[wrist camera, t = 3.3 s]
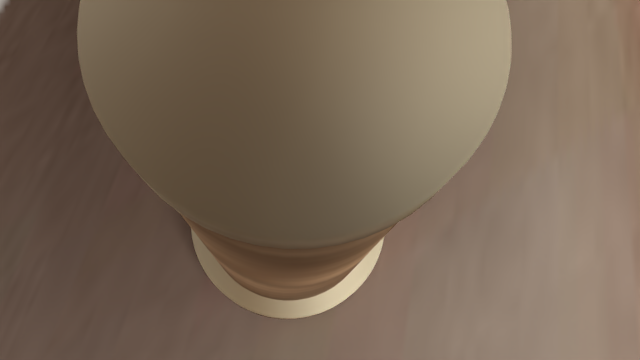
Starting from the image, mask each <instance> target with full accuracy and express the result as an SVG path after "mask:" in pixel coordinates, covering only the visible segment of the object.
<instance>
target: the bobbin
mask: <svg viewBox="0 0 640 360" xmlns="http://www.w3.org/2000/svg"><path fill="white" fill-rule="evenodd" d="M77 42H78V58H79V63H80V68H81V73H82V78H83V83H84V86H85V89H86V91H87V94H88V97H89V100H90V102H91V105H92V108H93V110H94V112H95V114H96V116H97V118H98V120H99V121H100V123H101V125H102V127H103V129H104V131H105V133H106V134H107V136H108V137H109V138H110V140H111V141H112V142H113V144H114V145H115V147H116V148H117V149H118V151H119V152H120V153H121V155H122V156H123V157H124V158H125V160H126V161H127V162H128V163H129V164H130V165H131V167H132V168H133V169H134V170H135V171H136V173H137V174H138V175H139V176H140V177H141V178H142V180H143V181H144V182H145V183H146V184H147V185H148V186H149V187H150V188H151V189H152V190H153V191H154V192H155V193H156V194H157V195H158V196H159V197H160V198H161V199H162V200H164V201H165V202H166V203H167V204H169V205H170V206H171V207H173V208H174V209H175V210H177V211H178V212H179V213H180V215H181V216H182V217H183V218H184V220H185V221H186V222H187V223H188V225H189V226H190V227H191V233H192V240H193V244H194V248H195V252H196V254H197V257H198V260H199V262H200V264H201V266H202V268H203V269H204V271H205V273H206V274H207V276H208V277H209V278H210V280H211V281H212V283H213V284H214V285H215V286H216V287H217V288H218V289H219V290H220V291H221V292H222V293H223V294H224V295H225V296H227V297H228V298H229V299H231V300H232V301H233V302H234V303H236V304H238V305H239V306H241V307H243V308H244V309H246V310H249V311H251V312H253V313H256V314H259V315H262V316H266V317H270V318H278V319H298V318H304V317H309V316H313V315H316V314H320V313H322V312H324V311H327V310H329V309H331V308H333V307H334V306H336V305H338V304H339V303H341V302H343V301H344V300H345V299H346V298H348V297H349V296H350V295H351V294H353V293H354V292H355V291H356V290H357V289H358V288H359V287H360V286H361V285H362V284H363V283H364V281H365V280H366V278H367V277H368V276H369V274H370V273H371V271H372V269H373V268H374V266H375V264H376V262H377V260H378V257H379V254H380V252H381V249H382V245H383V240H384V236H385V235H386V234H387V233H388V232H389V231H390V230H391V229H392V228H393V227H394V226H395V225H396V224H397V223H398V222H399V221H401V220H403V219H404V218H406V217H408V216H409V215H411V214H412V213H413V212H415V211H416V210H417V209H418V208H420V207H421V206H422V205H423V204H425V203H426V202H427V201H428V200H430V199H431V198H432V197H433V196H434V195H435V194H436V193H437V192H438V191H439V190H440V189H441V188H442V187H443V186H444V185H445V184H446V183H447V182H448V181H449V180H450V179H451V178H452V177H453V176H454V175H455V174H456V173H457V172H458V171H459V170H460V169H461V168H462V167H463V166H464V165H465V164H466V162H467V161H468V160H469V159H470V158H471V157H472V155H473V154H474V152H475V151H476V150H477V148H478V147H479V145H480V144H481V143H482V141H483V140H484V138H485V137H486V135H487V133H488V131H489V129H490V127H491V125H492V123H493V122H494V120H495V118H496V116H497V114H498V111H499V108H500V105H501V102H502V99H503V96H504V94H505V91H506V87H507V82H508V76H509V71H510V66H511V49H512V34H511V24H510V14H509V9H508V5H507V1H506V0H80V4H79V15H78V25H77Z"/></svg>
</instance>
